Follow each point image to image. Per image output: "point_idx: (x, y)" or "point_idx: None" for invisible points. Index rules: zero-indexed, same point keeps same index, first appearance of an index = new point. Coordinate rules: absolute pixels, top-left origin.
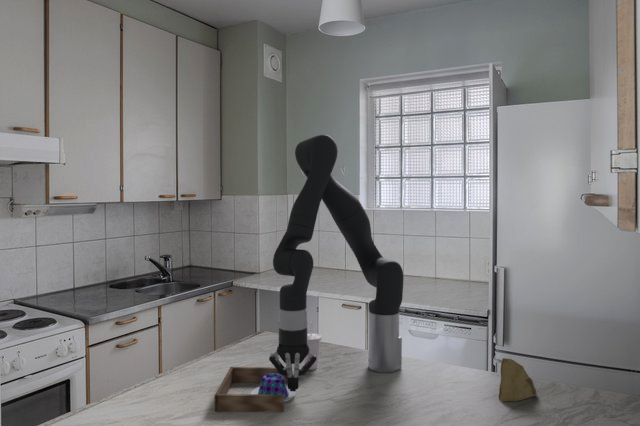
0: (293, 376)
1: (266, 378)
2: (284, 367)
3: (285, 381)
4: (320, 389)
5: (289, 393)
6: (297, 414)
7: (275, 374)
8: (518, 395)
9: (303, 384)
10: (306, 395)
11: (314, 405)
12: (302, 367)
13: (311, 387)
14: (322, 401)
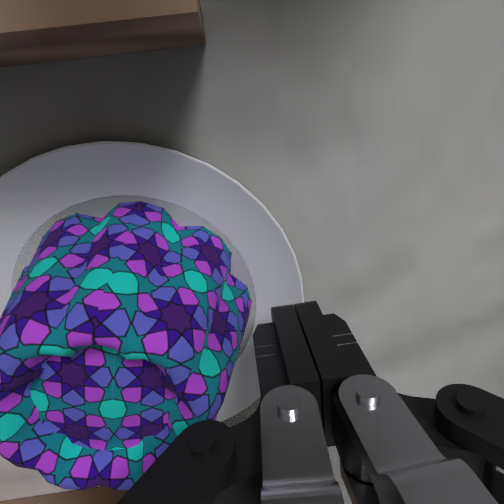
0: (326, 415)
1: (34, 415)
2: (218, 482)
3: (162, 45)
4: (487, 163)
5: (253, 271)
6: (336, 475)
7: (94, 343)
8: None
9: (346, 74)
10: (377, 279)
11: (423, 388)
12: (482, 451)
13: (417, 133)
14: (475, 339)
